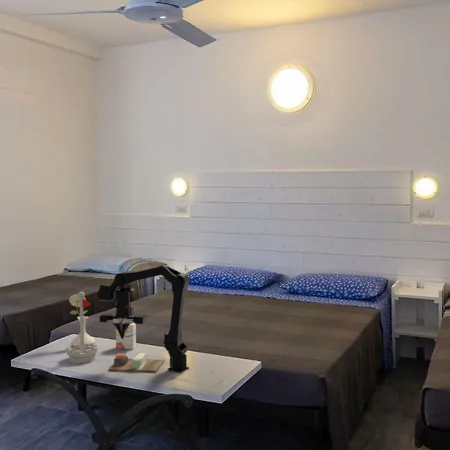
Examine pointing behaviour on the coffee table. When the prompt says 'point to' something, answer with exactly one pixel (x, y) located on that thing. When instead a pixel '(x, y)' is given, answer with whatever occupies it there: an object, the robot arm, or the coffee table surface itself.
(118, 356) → the button
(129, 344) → the ink cartridge box
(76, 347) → the flag stand
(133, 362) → the block
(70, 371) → the coffee table surface
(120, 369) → the brown control panel
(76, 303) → the flower in vase
